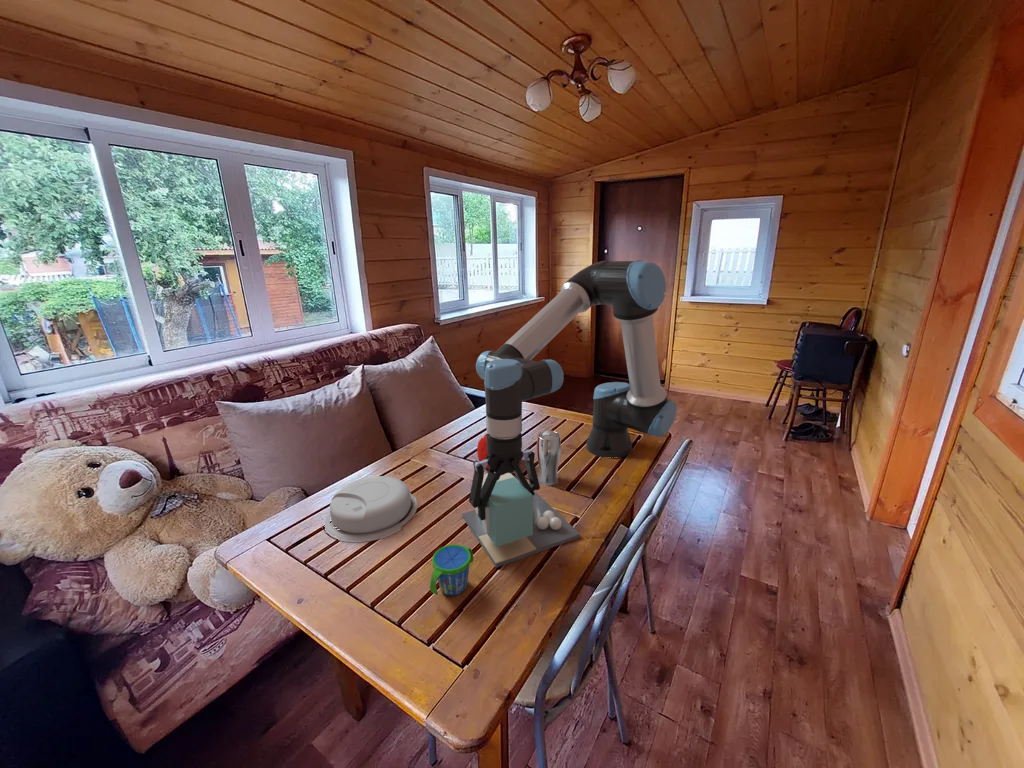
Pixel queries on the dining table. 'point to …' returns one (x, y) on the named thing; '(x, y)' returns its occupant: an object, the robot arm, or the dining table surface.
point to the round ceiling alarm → (369, 509)
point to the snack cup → (451, 569)
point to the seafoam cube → (510, 512)
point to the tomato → (482, 449)
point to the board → (525, 545)
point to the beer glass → (548, 457)
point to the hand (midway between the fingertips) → (505, 524)
